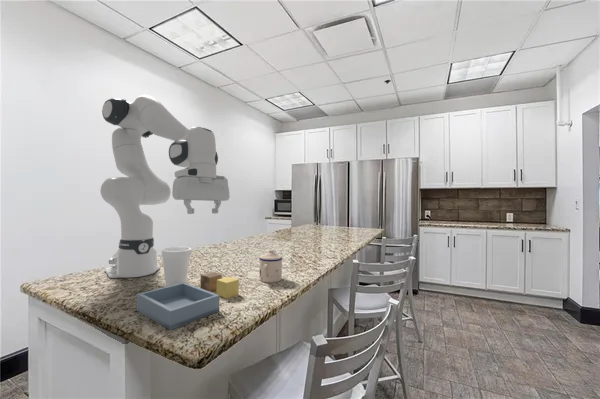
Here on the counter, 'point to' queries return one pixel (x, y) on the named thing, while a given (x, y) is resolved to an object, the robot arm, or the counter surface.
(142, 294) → the tray
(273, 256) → the teacup with lid
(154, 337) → the counter surface
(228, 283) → the mustard block
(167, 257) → the foam cup
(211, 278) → the walnut block
